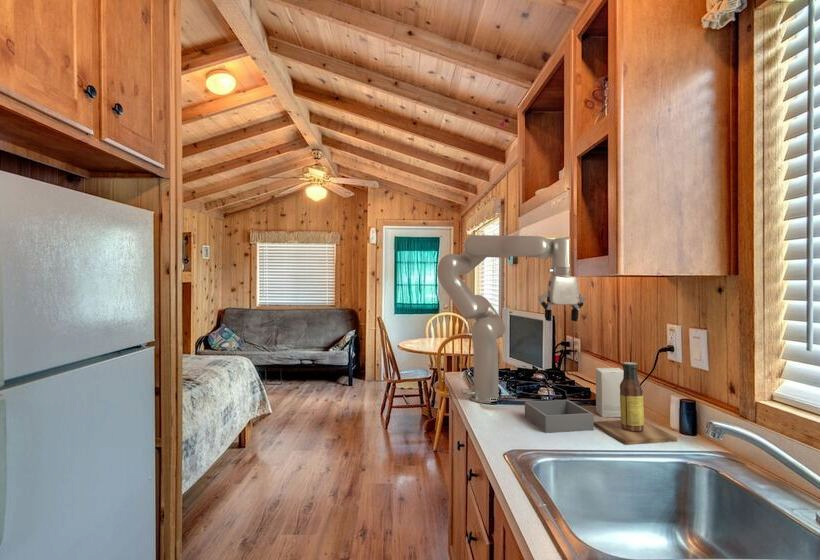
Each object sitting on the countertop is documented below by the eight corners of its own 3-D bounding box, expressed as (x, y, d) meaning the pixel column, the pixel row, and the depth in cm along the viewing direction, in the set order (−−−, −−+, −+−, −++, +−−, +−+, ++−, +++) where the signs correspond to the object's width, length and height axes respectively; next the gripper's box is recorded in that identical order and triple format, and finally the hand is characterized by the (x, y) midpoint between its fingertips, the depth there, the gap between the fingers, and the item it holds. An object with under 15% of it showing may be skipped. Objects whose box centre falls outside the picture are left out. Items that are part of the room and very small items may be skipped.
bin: (545, 432, 129) (545, 416, 129) (524, 416, 144) (524, 401, 144) (593, 430, 131) (593, 413, 131) (567, 414, 146) (567, 399, 146)
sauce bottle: (648, 430, 127) (648, 363, 127) (636, 434, 124) (636, 366, 124) (627, 423, 133) (627, 360, 133) (615, 427, 129) (615, 362, 129)
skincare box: (619, 412, 148) (619, 367, 148) (627, 418, 142) (627, 371, 142) (594, 411, 149) (594, 367, 149) (601, 417, 143) (601, 371, 143)
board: (625, 444, 119) (625, 440, 119) (593, 425, 135) (593, 421, 135) (677, 441, 121) (677, 437, 121) (639, 422, 137) (639, 419, 137)
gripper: (544, 272, 146) (542, 321, 146) (591, 273, 148) (589, 322, 148) (535, 272, 153) (533, 319, 154) (580, 273, 155) (578, 319, 156)
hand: (561, 320), depth 151 cm, fingers open, 9 cm apart
